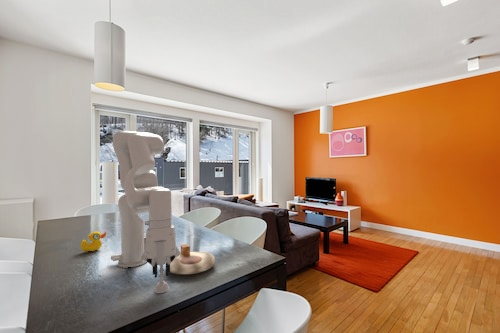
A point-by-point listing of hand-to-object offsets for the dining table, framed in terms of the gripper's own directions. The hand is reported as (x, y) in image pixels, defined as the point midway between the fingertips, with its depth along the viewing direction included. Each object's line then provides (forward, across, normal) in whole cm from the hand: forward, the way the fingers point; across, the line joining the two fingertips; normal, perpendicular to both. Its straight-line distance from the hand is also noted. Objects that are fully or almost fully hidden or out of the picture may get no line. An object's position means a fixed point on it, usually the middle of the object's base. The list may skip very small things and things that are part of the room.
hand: (161, 274), depth 85 cm
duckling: (+5, -37, +54) cm, 66 cm away
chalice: (+5, 0, 0) cm, 5 cm away
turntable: (+3, +11, +15) cm, 19 cm away
